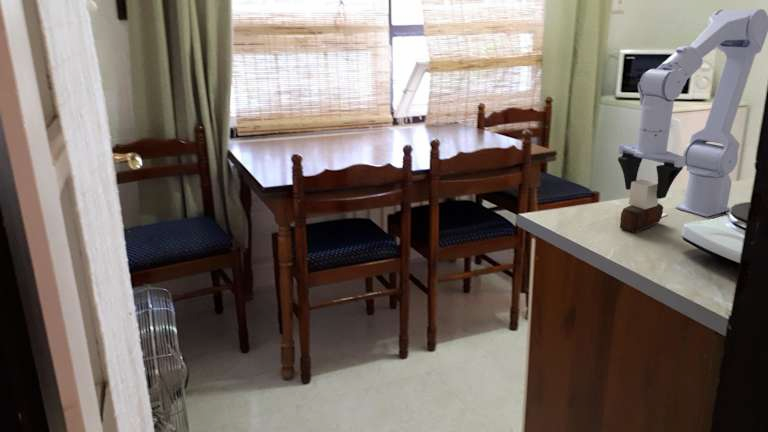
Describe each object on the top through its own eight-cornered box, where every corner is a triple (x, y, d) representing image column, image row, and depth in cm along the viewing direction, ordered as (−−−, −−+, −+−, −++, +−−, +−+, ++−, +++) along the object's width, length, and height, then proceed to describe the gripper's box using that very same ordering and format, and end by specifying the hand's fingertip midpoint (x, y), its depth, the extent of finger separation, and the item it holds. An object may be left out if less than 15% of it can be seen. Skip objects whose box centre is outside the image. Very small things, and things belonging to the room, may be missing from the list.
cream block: (640, 200, 128) (643, 178, 127) (657, 205, 125) (660, 183, 124) (628, 204, 127) (631, 181, 125) (644, 209, 123) (647, 186, 122)
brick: (636, 234, 123) (639, 213, 121) (618, 229, 126) (621, 208, 124) (661, 221, 129) (664, 201, 128) (644, 217, 132) (647, 197, 130)
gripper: (611, 126, 125) (604, 187, 129) (673, 137, 113) (663, 205, 117) (634, 122, 128) (626, 183, 133) (696, 133, 116) (685, 199, 121)
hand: (645, 193), depth 125 cm, fingers open, 7 cm apart
